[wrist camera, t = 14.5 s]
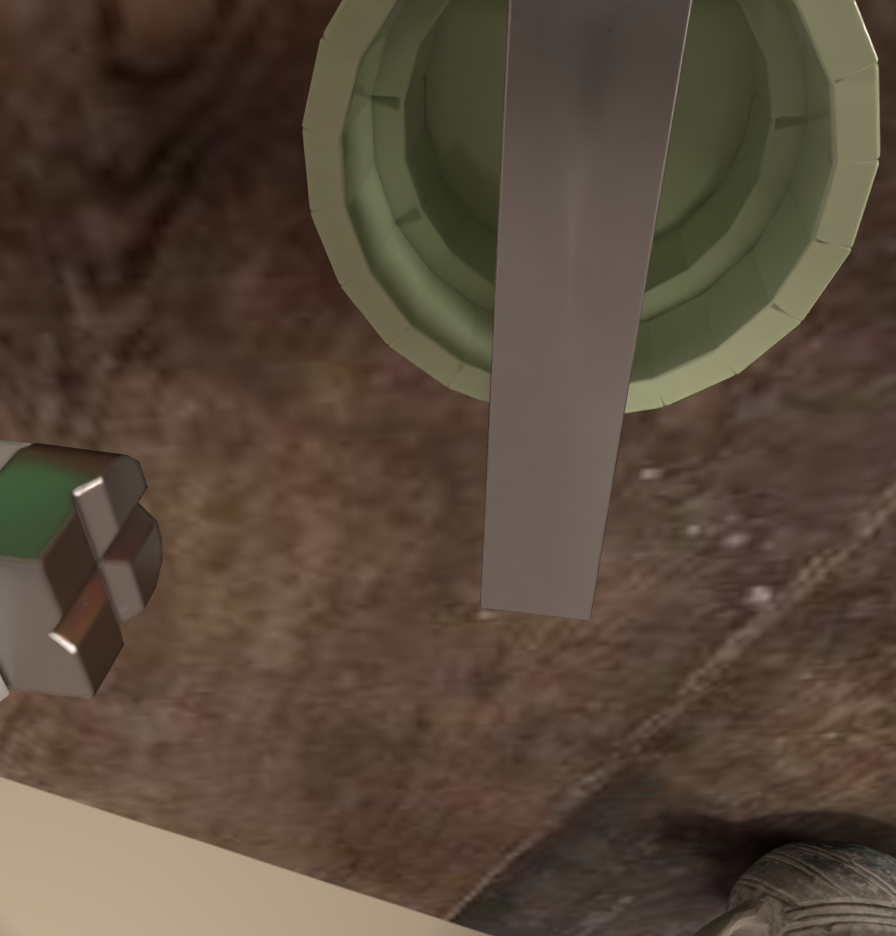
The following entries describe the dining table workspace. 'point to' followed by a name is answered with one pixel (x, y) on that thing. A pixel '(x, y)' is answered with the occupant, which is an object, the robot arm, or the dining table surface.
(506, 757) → the dining table surface
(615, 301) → the long grey metal bar
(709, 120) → the bowl
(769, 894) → the mug
